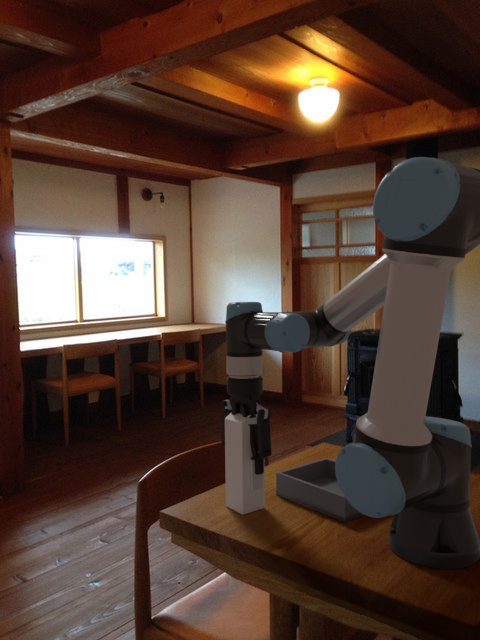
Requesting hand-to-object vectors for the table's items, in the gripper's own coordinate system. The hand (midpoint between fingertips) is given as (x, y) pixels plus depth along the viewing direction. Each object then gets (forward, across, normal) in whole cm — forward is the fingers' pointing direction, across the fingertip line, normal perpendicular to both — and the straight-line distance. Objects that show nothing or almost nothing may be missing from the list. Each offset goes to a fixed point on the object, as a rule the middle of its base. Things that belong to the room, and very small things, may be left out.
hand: (245, 484), depth 116 cm
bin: (+5, -9, -18) cm, 21 cm away
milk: (+5, 0, 0) cm, 5 cm away
